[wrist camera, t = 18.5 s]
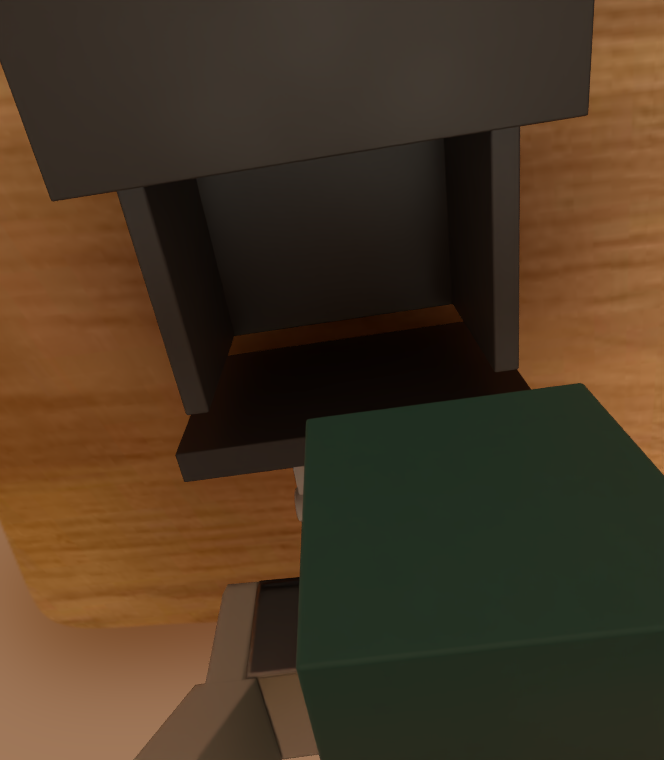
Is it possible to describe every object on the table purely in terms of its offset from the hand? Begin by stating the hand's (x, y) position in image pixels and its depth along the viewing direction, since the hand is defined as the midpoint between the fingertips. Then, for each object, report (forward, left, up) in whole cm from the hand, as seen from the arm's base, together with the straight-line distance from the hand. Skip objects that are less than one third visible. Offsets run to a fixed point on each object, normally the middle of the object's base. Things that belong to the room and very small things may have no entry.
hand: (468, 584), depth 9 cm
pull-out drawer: (0, +2, -18) cm, 18 cm away
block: (0, 0, -2) cm, 2 cm away
